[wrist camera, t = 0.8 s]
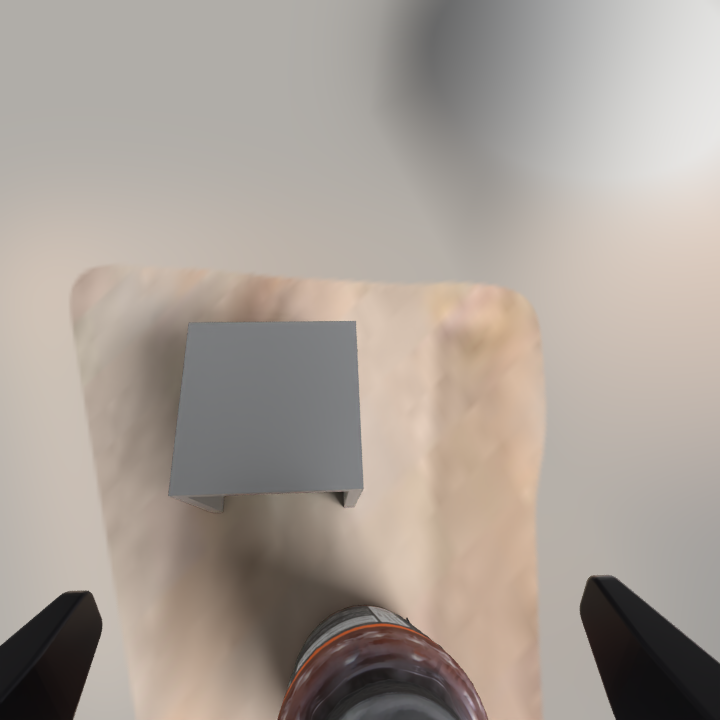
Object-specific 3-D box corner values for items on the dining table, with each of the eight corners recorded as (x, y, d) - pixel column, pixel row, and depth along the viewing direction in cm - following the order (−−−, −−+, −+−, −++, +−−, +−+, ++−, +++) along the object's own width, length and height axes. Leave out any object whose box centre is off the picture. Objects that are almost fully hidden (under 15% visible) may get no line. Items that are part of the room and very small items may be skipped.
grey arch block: (354, 507, 22) (363, 488, 16) (212, 512, 22) (168, 496, 16) (349, 377, 25) (355, 320, 19) (223, 379, 24) (188, 322, 18)
